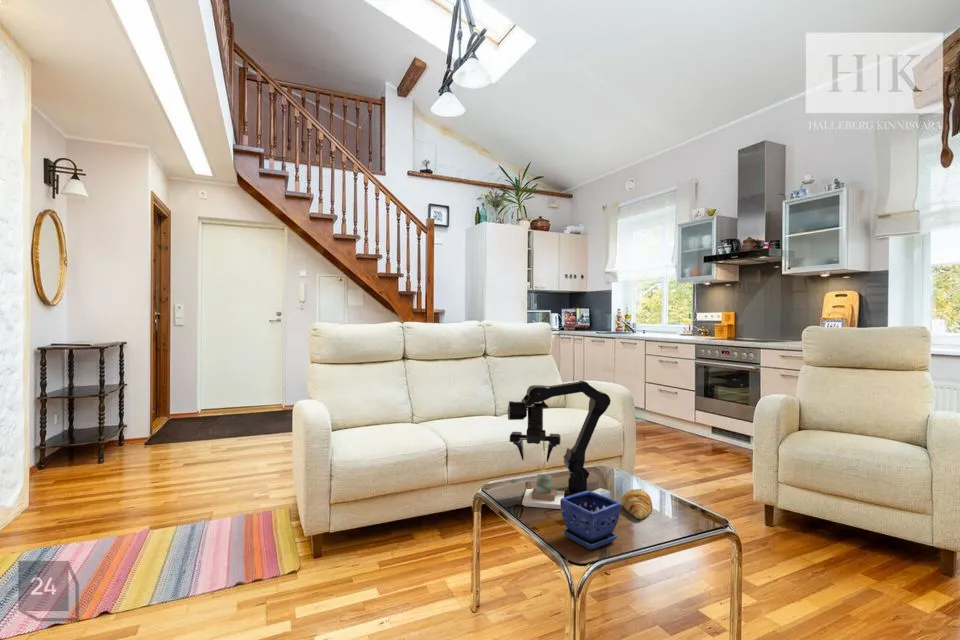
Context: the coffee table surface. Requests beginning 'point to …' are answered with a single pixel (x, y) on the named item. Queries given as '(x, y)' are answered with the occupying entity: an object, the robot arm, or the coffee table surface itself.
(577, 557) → the coffee table surface
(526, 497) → the baseboard
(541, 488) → the sage cube
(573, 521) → the flower pot
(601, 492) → the medicine box
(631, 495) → the croissant
